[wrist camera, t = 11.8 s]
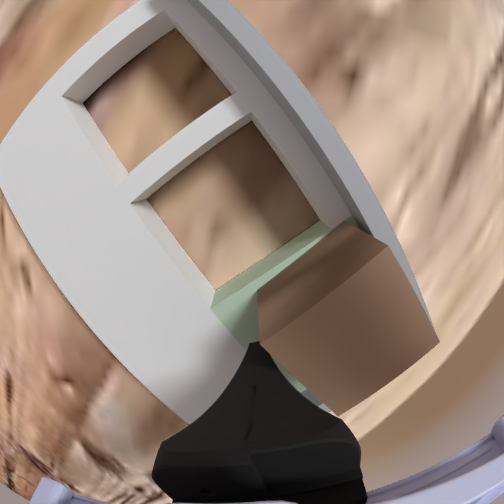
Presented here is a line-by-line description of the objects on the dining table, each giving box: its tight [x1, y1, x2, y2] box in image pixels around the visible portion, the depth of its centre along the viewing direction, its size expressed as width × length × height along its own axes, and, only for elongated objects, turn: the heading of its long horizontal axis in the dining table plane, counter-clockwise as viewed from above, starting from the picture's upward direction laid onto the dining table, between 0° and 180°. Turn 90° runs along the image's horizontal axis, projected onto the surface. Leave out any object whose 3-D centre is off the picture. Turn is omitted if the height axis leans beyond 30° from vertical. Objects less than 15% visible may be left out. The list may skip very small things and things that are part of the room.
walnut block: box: [257, 221, 440, 416], centre depth 10 cm, size 4×4×4 cm
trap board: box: [0, 0, 435, 425], centre depth 11 cm, size 14×21×4 cm, turn 35°
